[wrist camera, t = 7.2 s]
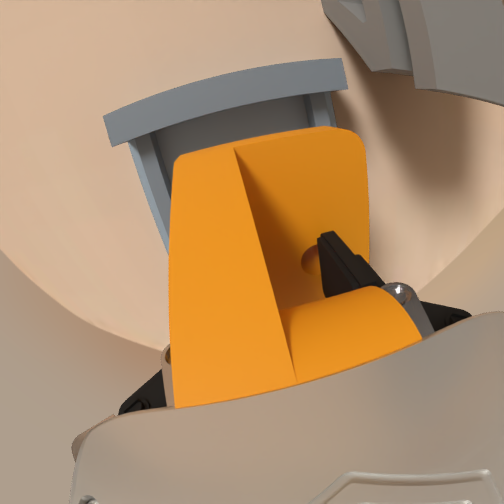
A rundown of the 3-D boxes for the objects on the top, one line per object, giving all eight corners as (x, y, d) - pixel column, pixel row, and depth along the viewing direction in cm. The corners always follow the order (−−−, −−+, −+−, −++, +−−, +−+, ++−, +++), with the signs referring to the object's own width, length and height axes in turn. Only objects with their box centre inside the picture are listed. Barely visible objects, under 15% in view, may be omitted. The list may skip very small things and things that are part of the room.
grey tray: (318, 67, 16) (341, 58, 13) (347, 276, 25) (365, 303, 21) (125, 114, 17) (102, 116, 13) (198, 314, 25) (196, 347, 22)
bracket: (347, 301, 17) (438, 469, 7) (236, 329, 17) (263, 528, 6) (336, 122, 12) (600, 220, 1) (182, 152, 12) (26, 407, 1)
